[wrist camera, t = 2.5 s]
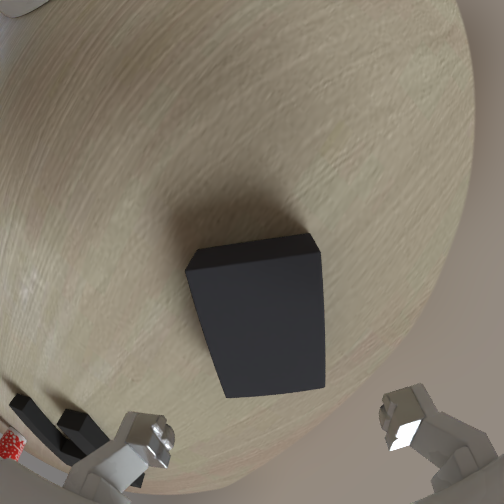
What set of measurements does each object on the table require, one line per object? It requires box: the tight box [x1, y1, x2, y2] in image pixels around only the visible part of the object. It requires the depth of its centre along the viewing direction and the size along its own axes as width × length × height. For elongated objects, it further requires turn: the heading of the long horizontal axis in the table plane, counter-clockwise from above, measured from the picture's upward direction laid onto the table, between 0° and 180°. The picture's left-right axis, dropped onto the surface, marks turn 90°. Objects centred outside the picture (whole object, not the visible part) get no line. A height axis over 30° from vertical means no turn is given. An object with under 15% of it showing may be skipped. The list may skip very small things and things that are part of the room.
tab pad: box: [185, 233, 325, 398], centre depth 13 cm, size 8×6×2 cm
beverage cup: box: [0, 427, 27, 462], centre depth 22 cm, size 6×6×14 cm
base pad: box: [9, 393, 145, 488], centre depth 22 cm, size 14×14×2 cm
